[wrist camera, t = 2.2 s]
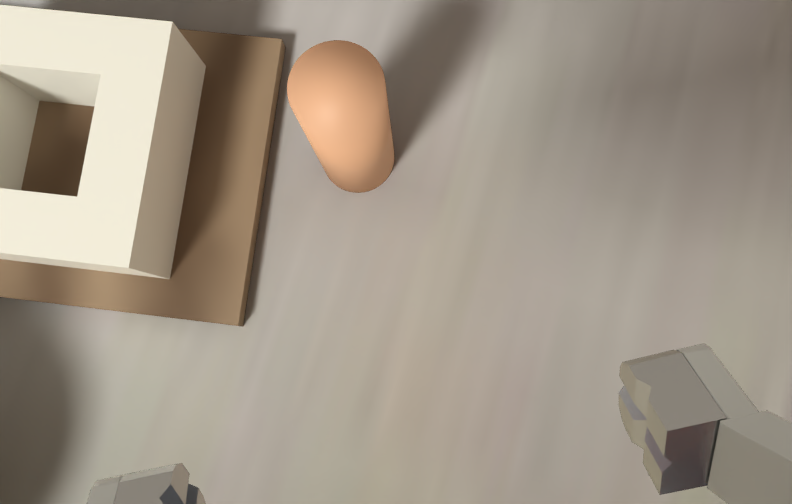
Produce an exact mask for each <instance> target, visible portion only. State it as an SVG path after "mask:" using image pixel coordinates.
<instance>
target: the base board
mask: <svg viewBox="0 0 792 504" xmlns="http://www.w3.org/2000/svg"><path fill="white" fill-rule="evenodd" d="M178 30H179V31H180V32H181V34H182V35H183V36H184V37H185V39H186V40H187V41H188V43H189V44H190V45H191V47H192V48H193V49H194V51H195V52H196V53H197V55H198V56H199V57H200V59H201V60H202V61H203V63H204V64H205V65H206V69H205V74H204V80H203V86H202V92H201V98H200V104H199V110H198V116H197V122H196V128H195V134H194V140H193V145H192V151H191V157H190V163H189V169H188V175H187V181H186V187H185V193H184V199H183V205H182V210H181V216H180V222H179V228H178V234H177V240H176V246H175V252H174V258H173V264H172V270H171V276H170V279H164V278H156V277H148V276H139V275H131V274H122V273H114V272H105V271H97V270H89V269H80V268H72V267H63V266H55V265H46V264H38V263H30V262H21V261H13V260H4V259H0V297H6V298H14V299H22V300H30V301H39V302H47V303H55V304H63V305H72V306H80V307H88V308H96V309H104V310H113V311H121V312H129V313H137V314H146V315H154V316H162V317H170V318H178V319H187V320H195V321H203V322H211V323H220V324H228V325H236V326H243V323H244V317H245V310H246V303H247V297H248V290H249V284H250V277H251V271H252V264H253V257H254V251H255V244H256V238H257V231H258V225H259V218H260V211H261V205H262V198H263V192H264V185H265V178H266V172H267V165H268V159H269V152H270V146H271V139H272V132H273V126H274V119H275V113H276V106H277V99H278V93H279V86H280V80H281V73H282V67H283V60H284V53H285V45H284V43H283V41H282V39H276V38H266V37H256V36H246V35H235V34H225V33H215V32H205V31H195V30H185V29H178ZM94 107H95V106H85V105H76V104H66V103H57V102H47V101H39V105H38V110H37V115H36V120H35V125H34V130H33V134H32V139H31V144H30V149H29V154H28V159H27V164H26V169H25V173H24V178H23V183H22V188H21V190H22V191H31V192H40V193H49V194H57V195H66V196H75V197H77V195H78V190H79V185H80V179H81V174H82V169H83V164H84V159H85V153H86V148H87V143H88V138H89V133H90V127H91V122H92V117H93V112H94Z"/></svg>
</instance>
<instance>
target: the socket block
mask: <svg viewBox="0 0 792 504" xmlns="http://www.w3.org/2000/svg"><path fill="white" fill-rule="evenodd" d="M205 69H206V65H205V64H204V63H203V61H202V60H201V59H200V57H199V56H198V55H197V53H196V52H195V51H194V49H193V48H192V47H191V45H190V44H189V43H188V41H187V40H186V39H185V37H184V36H183V35H182V34H181V32H180V31H179V30H178V28H177V27H176V26H175V24H174V23H173V22H171V21H161V20H151V19H140V18H130V17H120V16H110V15H100V14H89V13H79V12H69V11H59V10H48V9H38V8H28V7H18V6H8V5H0V259H4V260H13V261H21V262H30V263H38V264H46V265H55V266H63V267H72V268H80V269H89V270H97V271H105V272H114V273H122V274H131V275H139V276H148V277H156V278H164V279H170V276H171V270H172V264H173V258H174V252H175V246H176V240H177V234H178V228H179V222H180V216H181V210H182V205H183V199H184V193H185V187H186V181H187V175H188V169H189V163H190V157H191V151H192V145H193V140H194V134H195V128H196V122H197V116H198V110H199V104H200V98H201V92H202V86H203V80H204V74H205ZM39 101H47V102H57V103H66V104H76V105H85V106H95V107H94V112H93V117H92V122H91V127H90V133H89V138H88V143H87V148H86V153H85V159H84V164H83V169H82V174H81V179H80V185H79V190H78V195H77V197H75V196H66V195H57V194H49V193H40V192H31V191H22V190H21V188H22V183H23V178H24V173H25V169H26V164H27V159H28V154H29V149H30V144H31V139H32V134H33V130H34V125H35V120H36V115H37V110H38V105H39Z"/></svg>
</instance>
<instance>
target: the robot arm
mask: <svg viewBox="0 0 792 504" xmlns="http://www.w3.org/2000/svg"><path fill="white" fill-rule="evenodd" d="M619 376H620V378H621V380H622V382H623V384H624V387H623V388H622V389H621V390H620V392H619V409H620V413H621V418H622V421H623V424H624V426H625V429H626V431H627V433H628V435H629V437H630V439H631V441H632V443H634V444H636V445H637V446H639V447H641V448H642V449H644V454H643V464H644V466H645V468H646V470H647V472H648V474H649V476H650V478H651V479H652V481H653V483H654V485H655V487H656V489H657V491H658V493H659V495H662V494H667V493H672V492H677V491H682V490H687V489H692V488H697V487H702V486H707V485H708V486H707V488H708V489H709V490H710V491H712V492H713V493H714V494H716V495H717V496H718V497H720V498H721V499H722V500H724V501H725V502H727V503H728V504H792V423H791V422H789V421H787V420H785V419H783V418H781V417H779V416H778V415H776V414H774V413H772V412H770V411H768V410H767V411H761V412H759V411H758V410H757V409H756V407H755V406H754V405H753V403H752V402H751V401H750V399H749V398H748V397H747V395H746V394H745V393H744V391H743V390H742V389H741V387H740V386H739V385H738V383H737V382H736V381H735V379H734V378H733V377H732V375H731V374H730V373H729V372H728V370H727V369H726V368H725V366H724V365H723V364H722V362H721V361H720V360H719V358H718V357H717V356H716V354H715V353H714V352H713V350H712V349H711V348H710V347H709V346H708V345H706V344H699V345H695V346H690V347H686V348H681V349H677V350H670V351H666V352H662V353H658V354H654V355H649V356H645V357H641V358H637V359H633V360H629V361H624V362H622V364H621V366H620V374H619ZM189 474H190V473H189V472H188V471H187V469H186V468H185V466H184V465H183V464H182V463H179V464H174V465H169V466H164V467H159V468H154V469H149V470H144V471H139V472H134V473H129V474H124V475H119V476H115V477H110V478H105V479H101V480H97V481H96V482H95V484H94V485H93V487H92V488H91V490H90V493H89V497H88V500H87V504H206V503H205V500H204V497H203V495H202V493H201V491H200V490H199V488H198V487H195V486H193V485H191V484H188V481H189Z"/></svg>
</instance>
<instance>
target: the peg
mask: <svg viewBox="0 0 792 504" xmlns="http://www.w3.org/2000/svg"><path fill="white" fill-rule="evenodd" d="M287 95H288V100H289V103H290V106H291V108H292V110H293V112H294V114H295V116H296V117H297V119H298V121H299V123H300V125H301V127H302V129H303V131H304V132H305V134H306V136H307V138H308V140H309V142H310V144H311V146H312V148H313V149H314V151H315V153H316V155H317V157H318V159H319V161H320V163H321V164H322V166H323V168H324V170H325V172H326V174H327V176H328V177H329V179H330V180H331V181H332V182H333V183H334V184H335V185H336V186H338V187H339V188H341V189H343V190H346V191H349V192H356V193H360V192H367V191H370V190H373V189H375V188H377V187H378V186H380V185H381V184H382V183H383V182H384V181H385V180H386V179H387V178H388V176H389V175H390V173H391V171H392V168H393V165H394V147H393V140H392V132H391V124H390V116H389V108H388V100H387V92H386V84H385V77H384V73H383V70H382V68H381V66H380V64H379V62H378V61H377V59H376V58H375V57H374V56H373V55H372V54H371V53H370V52H369V51H368V50H366V49H365V48H363V47H362V46H360V45H357V44H355V43H352V42H348V41H341V40H334V41H327V42H323V43H320V44H317V45H315V46H313V47H311V48H310V49H308V50H307V51H306V52H304V53H303V54H302V55H301V56H300V57H299V58H298V59H297V61H296V62H295V64H294V65H293V67H292V69H291V72H290V74H289V78H288V83H287Z"/></svg>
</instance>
